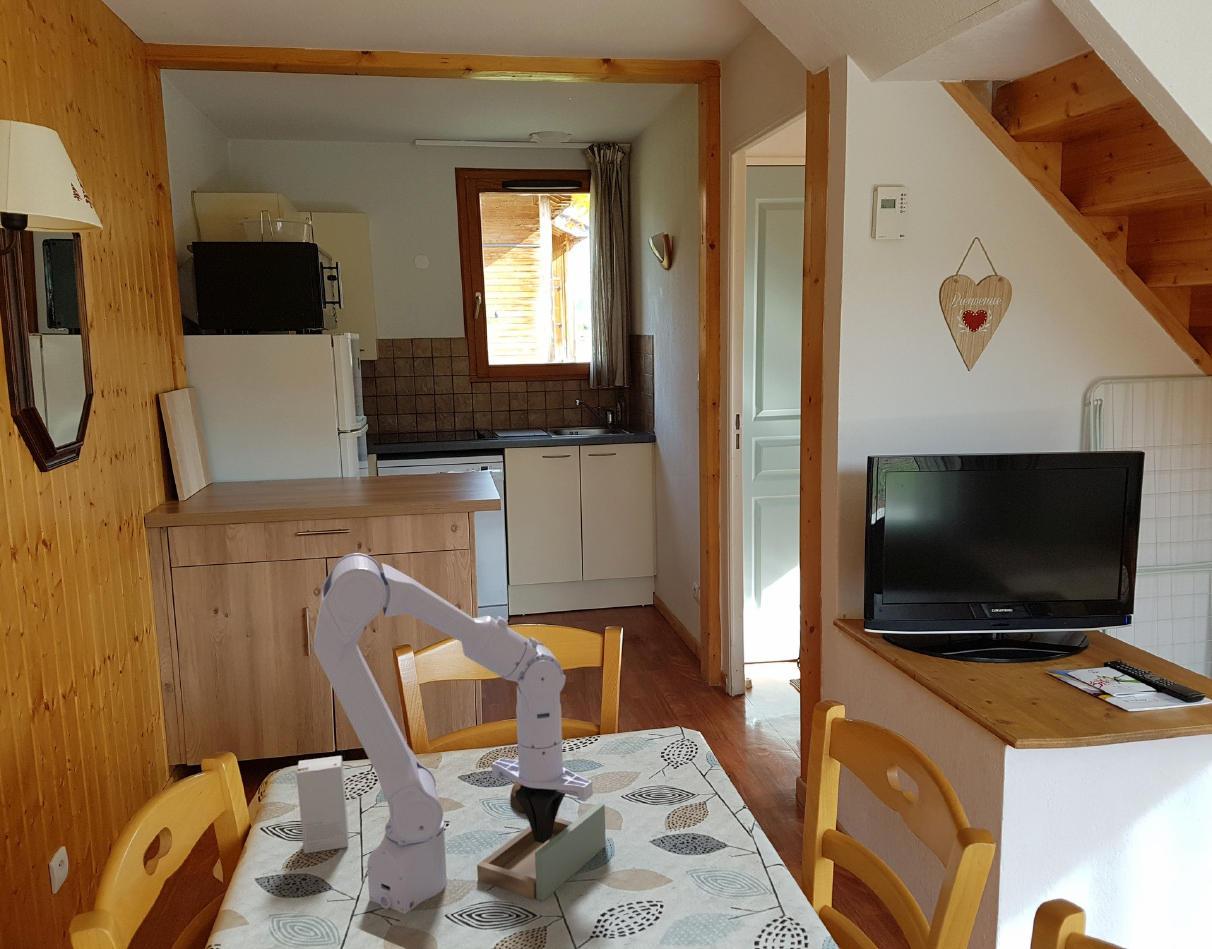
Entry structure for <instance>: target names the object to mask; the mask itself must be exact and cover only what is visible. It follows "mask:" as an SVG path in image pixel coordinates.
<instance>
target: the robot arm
mask: <svg viewBox="0 0 1212 949" xmlns="http://www.w3.org/2000/svg"><path fill="white" fill-rule="evenodd" d="M381 566H382V568H381ZM381 566H380V565H379V563H378V562H377V560H376V559H374V558H373V557H371V556H369V555H368V554H365V553H360V552H358V553H357V552H355V553H350V554H346V555H344V556H342V557H340V558H339V559H338V560H337V561H336V562H335V563H334V564H333V566H332V568H331V570H330V571H329V573H328V575H327V577H326V579H325V580H324V582H323V584H322V590H321V596H320V602H319V607H318V614H317V619H316V624H315V628H314V629H315V630H314V635H313V650H314V654H315V655H316V658H317V660H318V662H319V664H320V666H321V668H322V669H323V672H324V674H325V675H326V677H327V679H328V681H329V684H330V686H331V687H332V689H333V691H334V693H335V694H336V696H337V699H338V701H339V702H340V704H341V707H342V709H343V710H344V711H343V712H345V714H346V716H347V718H348V721H349V722H350V724H351V726H352V728H353V730H354V732H355V734H356V736H357V738H358V740H359V742H360V744H361V746H362V748H363V750H364V751H365V754H366V756H367V758H368V759H369V761H370V763H371V765H372V767H373V769H374V771H375V773H376V775H377V778H378V782H379V784H380V787H381V790H382V793H383V796H384V799H385V801H386V802H387V804H388V808H389V809H388V810H389V818H388V821H387V822H386V824H385V826H384V827H385V828H384V829H385V830H384V831H385V833H384V836H383V839H382V840H381V841H380V843H379V844H378V846H377V847H376V848H375V849H374V850H373V851H372V852H371V853H370V854H369V856H368V858H367V879H368V882H367V883H368V895H369V899H368V900H369V901H370V902H373V903H375V904H378V905H380V906H381V907H382V908H383V909H386V910H388V909H391V910H393V911H396V912H398V913H401V914H404V915H405V914H407V913H409V912H410V911H411V910H413V909H414V908H416V907H417V906H418V905H419V904H421V903H422V902H424V901H426V900H428V899H430V898H433V897H434V896H437V895H438V894H439V893H441V892H442V891H443V890H444V889H445V888H446V886H447V883H448V882H447V878H448V877H447V876H448V875H447V862H446V861H447V858H446V838H445V836H446V835H445V820H444V811H443V808H442V807H443V805H442V804H441V802H440V800H439V795H438V792H437V787H436V786H437V785H436V784H437V783H436V780H435V779H436V778H435V776H434V774H433V773H432V770H430V769H429V768H428V767H426V766H425V765H423V764H422V763H421V762H419V760H418V759H417V757H416V755H415V753H414V751H413V750H412V749H411V748H410V747H409V745H408V744H407V741H406V740H405V738H404V736H403V734H402V731H401V730H400V727H399V725H398V724H397V721H396V719H395V718H394V716H393V713H392V711H391V709H390V707H389V706H388V704H387V701H386V700H385V698H384V695H383V693H382V692H381V689H380V688H379V685H378V683H377V681H376V680H375V677H374V675H373V673H372V671H371V669H370V668H369V665H368V663H367V662H366V660H365V657H364V655H363V654H362V651H361V649H360V647H359V645H358V643H359V641H360V640H361V636H362V634H363V633H364V630H365V628H366V626H367V625H368V624H369V623H370V622H371V621H373V620H374V618H376V617H377V615H378V614H379V613H380V612H381V611H383V616H384V618H391V617H394V616H400V615H405V614H407V615H411V616H412V617H414V618H416V619H418V620H419V621H421V622H423V623H426V624H427V625H429V626H431V627H433V628H435V629H437V630H438V631H439V632H442V633H444V634H446V635H448V636H450V637H451V638H454V639H456V640H457V641H459V642H461V647H462V652H463V655H464V656H465V657H466V658H468V659H470V660H471V661H473V662H475V663H477V664H478V665H480V666H482V667H484V668H485V669H487V670H488V671H490V672H492V673H494V674H495V675H497V676H499V677H500V678H502V679H503V680H504V679H505V680H506V681H512V682H516V683H517V684H518V685H516V707H515V709H516V710H515V711H516V733H517V734H516V736H517V759H507V758H502V757H500V758H498V759H497V760H495V761H494V762H492V764H491V769H492V770H491V773H492V777H493V778H495V779H501V778H504V779H505V778H506V779H510V780H512V781H515V782H516V781H517V782H518V783H520V784H521V786H520V789H518V790H517V791H516V792H515V798H516V799H517V800H518V802H519V803H520V805H521V806H522V808H523V810H524V812H525V814H524V815H526V818H527V821H528V823H529V826H531V829H532V832H533V836H534V839H535V841H536V842H540V843H545V842H546V841H547V840H549V839H550V838H551V837H552V832H553V827H554V822H555V818H556V817H557V814H558V813H559V812H558V811H559V809H560V806H561V804H562V801H563V799H564V797H565V796H566V795H569V796H573V797H577V800H578V801H581V802H586V801H588V800H589V799H590V798H591V797H593V795H594V793H593V780H590V779H587V778H584V777H582V776H580V775H578V774H576V773H575V772H574V771H573V772H572V771H571V770H569V769H567V768H565V767H564V761H563V759H564V758H563V731H562V730H563V727H562V724H563V723H562V705H561V702H560V701H561V698H560V697H561V694H560V693H561V692H562V690H563V689H564V686H565V684H566V678H567V676H566V675H565V674H564V668H563V667H562V666H561V663H560V661H559V660H558V659H557V657H555V655H554V654H553V652H552V651H551V650H550V649H549V648H548V647H547V646H545V645H544V643H543V642H541V641H538V639H536V638H534V637H532V636H530V637H529V638H527V637H525V636H523V635H522V634H521V633H518V632H517V631H515V630H513V629H512V628H510V627H508V626H509V622H508V621H507V619H505V618H503V617H502V616H500V615H499V616H497V617H496V619H495V618H493V617H492V616H490V615H484V616H478V617H472V616H471V615H469V614H467V613H466V612H465V611H463V610H461V609H460V608H458V607H456V606H455V605H453V604H452V603H450V602H449V601H448V600H446V599H444V598H443V597H442V596H440V595H438V594H437V593H435V592H434V591H432V590H431V589H429V588H427V587H426V586H424V585H423V584H421V583H420V582H418V581H417V580H415V579H414V578H412V577H410V576H408V575H407V574H405V573H403V572H401V571H399V570H397V569H396V568H394V567H393V566H390V565H388V564H386V563H384V562H383V563H381Z"/></svg>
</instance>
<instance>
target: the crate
mask: <svg viewBox="0 0 1212 949" xmlns="http://www.w3.org/2000/svg"><path fill="white" fill-rule="evenodd" d="M573 822H574V821H570V820H566V819H564V818H560V817H557V816H556V818H555V822H554V827H553V832H552V837H551V838H550V839H549V840H547V841H546V842H545V843H540V842H536V841H535V839H534V836H533V832H532V829H531V826H530V825H529V826H527V827H526V828H524V829H523V830H522V831H520V832H519V833H518V834H517V835H515V836H514V837H513V838H511V839H510V840H509V841H507V842H506V843H504V844H503V845H502V846H501V847H499V848H497V850H495V851H494V852H492V853H491V854H490V855H488V856H487V857H486V858H485V859H483V860H482V861H480V862H479V863H478V864H477V865H476V868H477V872H476V873H477V881H480V882H483V883H486V884H488V885H490V886H494V887H497V888H500V889H502V890H505V891H509V892H511V893H515V894H517V895H519V896H523V897H526V898H528V899H531V900H535V899H537V896H536V868H535V852H537V851H538V850H539V849H540V848H542V847H543V846H544V845H545V844H547V843H548V842H549V841H550V840H552V839H553V838H554V837H555V836H557V835H558V834H559V833H560V832H562V831H563V830H564V829H566V828H567V827H568V826H569V825H571V824H572V823H573Z"/></svg>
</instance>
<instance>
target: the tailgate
mask: <svg viewBox="0 0 1212 949" xmlns="http://www.w3.org/2000/svg"><path fill="white" fill-rule="evenodd" d="M605 806H606V805H605V803H602V802H597V803H596V804H594V805H593V806H592V807H590V809H588V810H587V811H585V813H583V814H582V815H581V816H579V817H578V818H577V819H576V820H574V821H572V822H573V823H572V824H571V825H569V826H568V827H567V828H566V829H564V830H563V831H562V832H560V833H559V834H558V835H557V836H555V837H554V838H553V839H552V840H550V841H549V842H548V843H547V844H545V845H544V846H543V847H542V848H540V849H539V850H538V851H537V852H535V868H536V896H537V897H536V900H539V901H541V902H544V901H546V899H547V898H549V897H550V896H551V895H552V894H553V893H554V892H556V890H558V889H559V888H560V887H561V886H563V884H565V883H566V882H567V881H568V880H569V879H570V878H572V876H574V875H575V874H576V873H577V872H578V871H579V870H580V869H582V868H583V867H584V866H585V865H586V864H588V863H589V862H590V861H591V860H592V859H593V858H594V857H596V855H597V854H599V853H600V852H602V850H603V849H604V848H605V847H606V846H607V845H606V844H607V843H606V842H607V840H606V839H607V838H606V807H605Z"/></svg>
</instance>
